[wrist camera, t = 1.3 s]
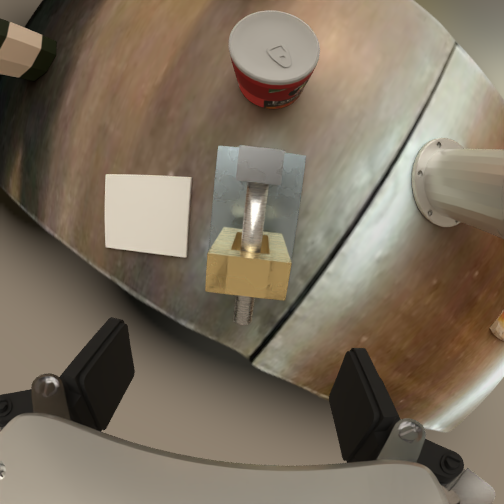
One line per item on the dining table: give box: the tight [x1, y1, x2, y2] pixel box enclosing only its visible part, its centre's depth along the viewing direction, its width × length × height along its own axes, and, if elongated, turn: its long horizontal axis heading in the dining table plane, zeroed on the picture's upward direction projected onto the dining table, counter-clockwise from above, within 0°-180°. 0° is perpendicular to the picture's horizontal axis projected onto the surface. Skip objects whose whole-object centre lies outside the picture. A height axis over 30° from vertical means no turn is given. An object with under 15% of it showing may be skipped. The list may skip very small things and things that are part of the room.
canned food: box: [229, 11, 320, 109], centre depth 23 cm, size 8×8×11 cm
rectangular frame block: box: [205, 227, 291, 300], centre depth 24 cm, size 6×3×9 cm, turn 84°
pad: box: [105, 174, 192, 258], centre depth 33 cm, size 12×10×1 cm
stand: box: [209, 145, 306, 325], centre depth 26 cm, size 10×16×14 cm, turn 174°
